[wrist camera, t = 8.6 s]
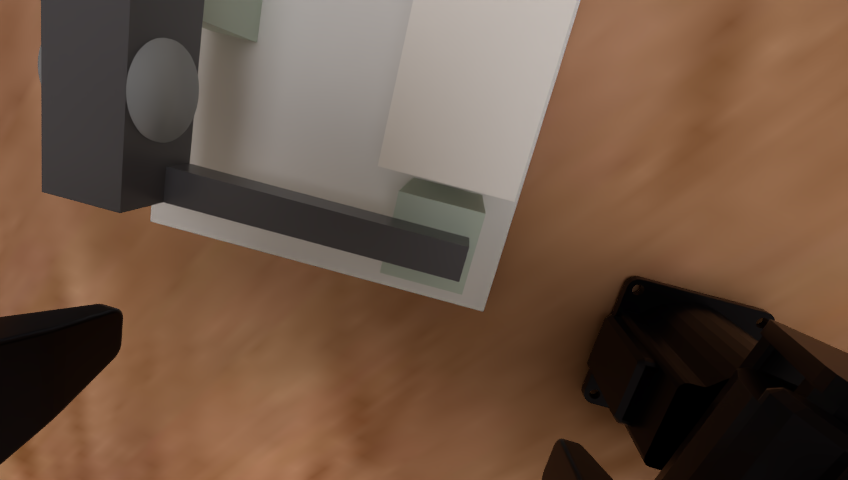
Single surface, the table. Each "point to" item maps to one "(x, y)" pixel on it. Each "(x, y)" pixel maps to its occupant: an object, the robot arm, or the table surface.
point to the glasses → (179, 135)
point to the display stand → (378, 119)
